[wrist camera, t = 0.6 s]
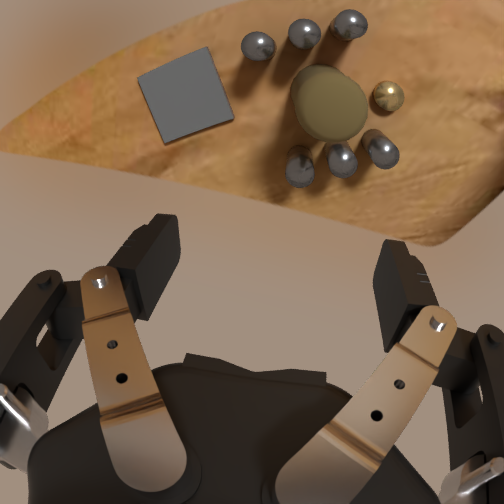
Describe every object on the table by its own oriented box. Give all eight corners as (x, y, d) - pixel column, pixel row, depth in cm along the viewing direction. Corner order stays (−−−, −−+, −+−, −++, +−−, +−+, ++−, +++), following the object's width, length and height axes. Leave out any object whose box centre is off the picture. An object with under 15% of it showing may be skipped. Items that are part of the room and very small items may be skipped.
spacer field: (352, 14, 23) (362, 7, 19) (387, 150, 30) (401, 166, 26) (245, 40, 26) (236, 37, 22) (291, 171, 33) (289, 190, 29)
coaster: (207, 46, 26) (206, 46, 26) (234, 117, 31) (233, 118, 30) (139, 77, 29) (137, 77, 28) (166, 141, 33) (164, 143, 32)
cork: (333, 132, 30) (350, 169, 21) (280, 104, 29) (272, 128, 20) (362, 83, 27) (394, 98, 18) (307, 53, 26) (314, 50, 17)
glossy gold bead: (390, 75, 26) (393, 76, 25) (405, 100, 27) (409, 102, 26) (367, 89, 27) (369, 90, 26) (382, 114, 28) (385, 116, 27)
